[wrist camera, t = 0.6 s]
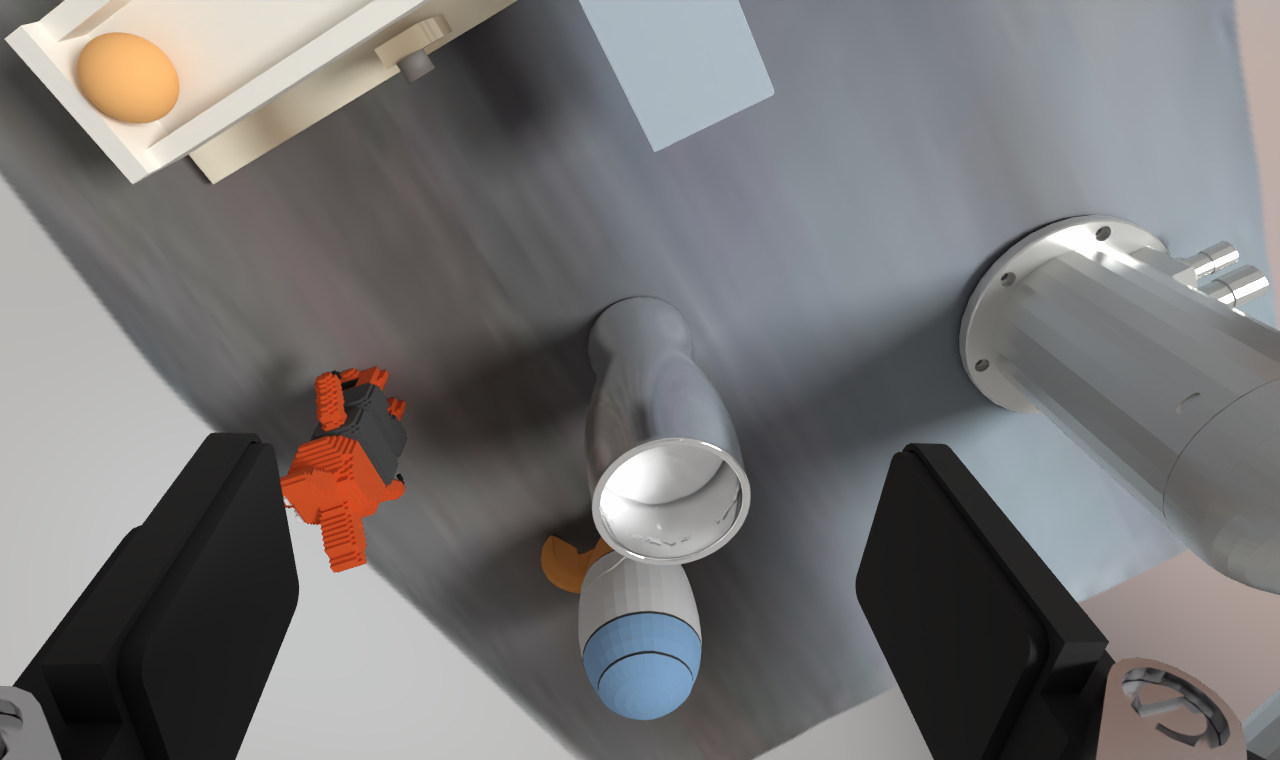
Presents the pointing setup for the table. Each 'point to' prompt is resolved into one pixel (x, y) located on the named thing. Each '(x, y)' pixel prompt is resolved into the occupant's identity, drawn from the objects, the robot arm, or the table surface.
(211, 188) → the table surface
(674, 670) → the toy rocket
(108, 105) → the ball
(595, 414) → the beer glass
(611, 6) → the lever
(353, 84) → the stand
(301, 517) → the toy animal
